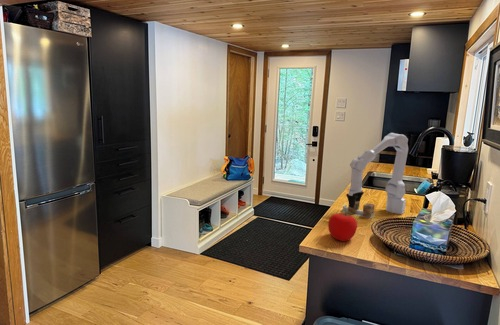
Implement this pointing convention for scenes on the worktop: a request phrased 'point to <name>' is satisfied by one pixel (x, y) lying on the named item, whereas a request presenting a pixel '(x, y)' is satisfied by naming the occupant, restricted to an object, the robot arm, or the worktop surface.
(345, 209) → the rail
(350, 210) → the brown notched block
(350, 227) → the red apple
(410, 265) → the worktop surface
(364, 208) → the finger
